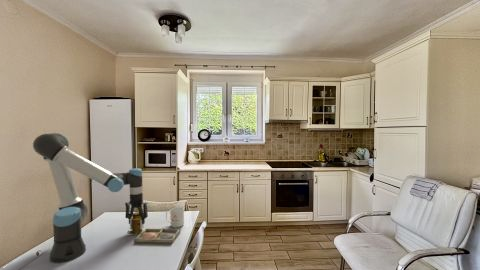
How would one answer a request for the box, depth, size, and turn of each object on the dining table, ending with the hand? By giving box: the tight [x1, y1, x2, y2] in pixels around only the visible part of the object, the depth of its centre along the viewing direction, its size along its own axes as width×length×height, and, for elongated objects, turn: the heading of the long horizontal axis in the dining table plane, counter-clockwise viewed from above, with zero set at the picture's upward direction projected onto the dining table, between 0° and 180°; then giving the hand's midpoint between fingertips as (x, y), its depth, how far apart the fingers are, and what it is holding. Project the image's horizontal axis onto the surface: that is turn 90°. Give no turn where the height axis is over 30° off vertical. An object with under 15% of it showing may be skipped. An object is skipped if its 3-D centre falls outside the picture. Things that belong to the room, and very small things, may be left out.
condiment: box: [127, 211, 144, 236], centre depth 146 cm, size 7×8×12 cm
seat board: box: [134, 228, 181, 245], centre depth 138 cm, size 14×22×2 cm, turn 87°
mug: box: [165, 206, 185, 229], centre depth 156 cm, size 12×9×11 cm
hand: (136, 228), depth 146 cm, fingers closed on condiment, 6 cm apart
